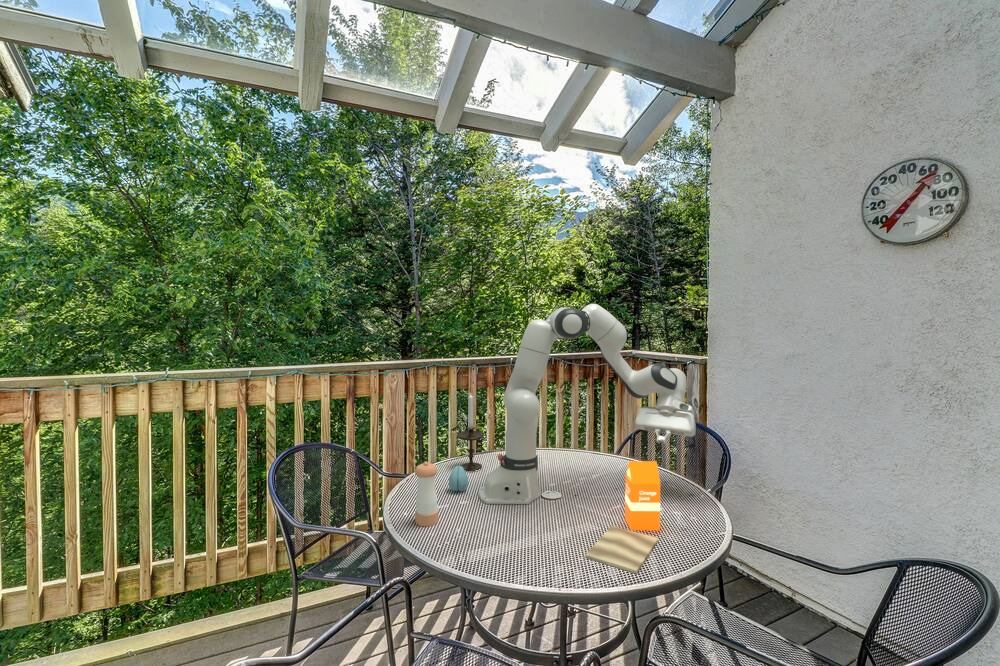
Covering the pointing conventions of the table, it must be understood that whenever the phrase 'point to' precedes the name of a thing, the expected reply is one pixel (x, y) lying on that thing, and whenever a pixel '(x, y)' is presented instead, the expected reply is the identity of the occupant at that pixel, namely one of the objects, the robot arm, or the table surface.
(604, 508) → the table surface
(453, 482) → the toy flower bud
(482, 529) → the table surface
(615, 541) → the board
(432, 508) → the pepper shaker
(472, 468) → the candlestick
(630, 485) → the orange juice
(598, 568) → the table surface
